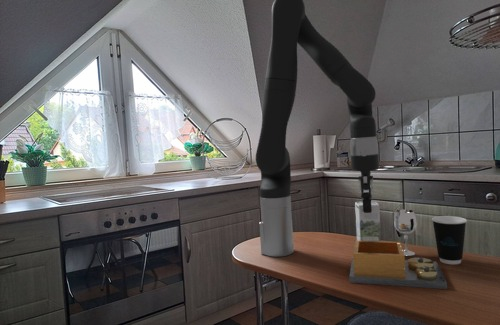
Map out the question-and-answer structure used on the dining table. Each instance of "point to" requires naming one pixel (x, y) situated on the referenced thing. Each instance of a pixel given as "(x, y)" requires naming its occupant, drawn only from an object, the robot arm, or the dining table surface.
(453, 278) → the dining table surface
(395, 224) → the wineglass
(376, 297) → the dining table surface
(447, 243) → the dixie cup
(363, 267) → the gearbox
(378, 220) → the syrup box
